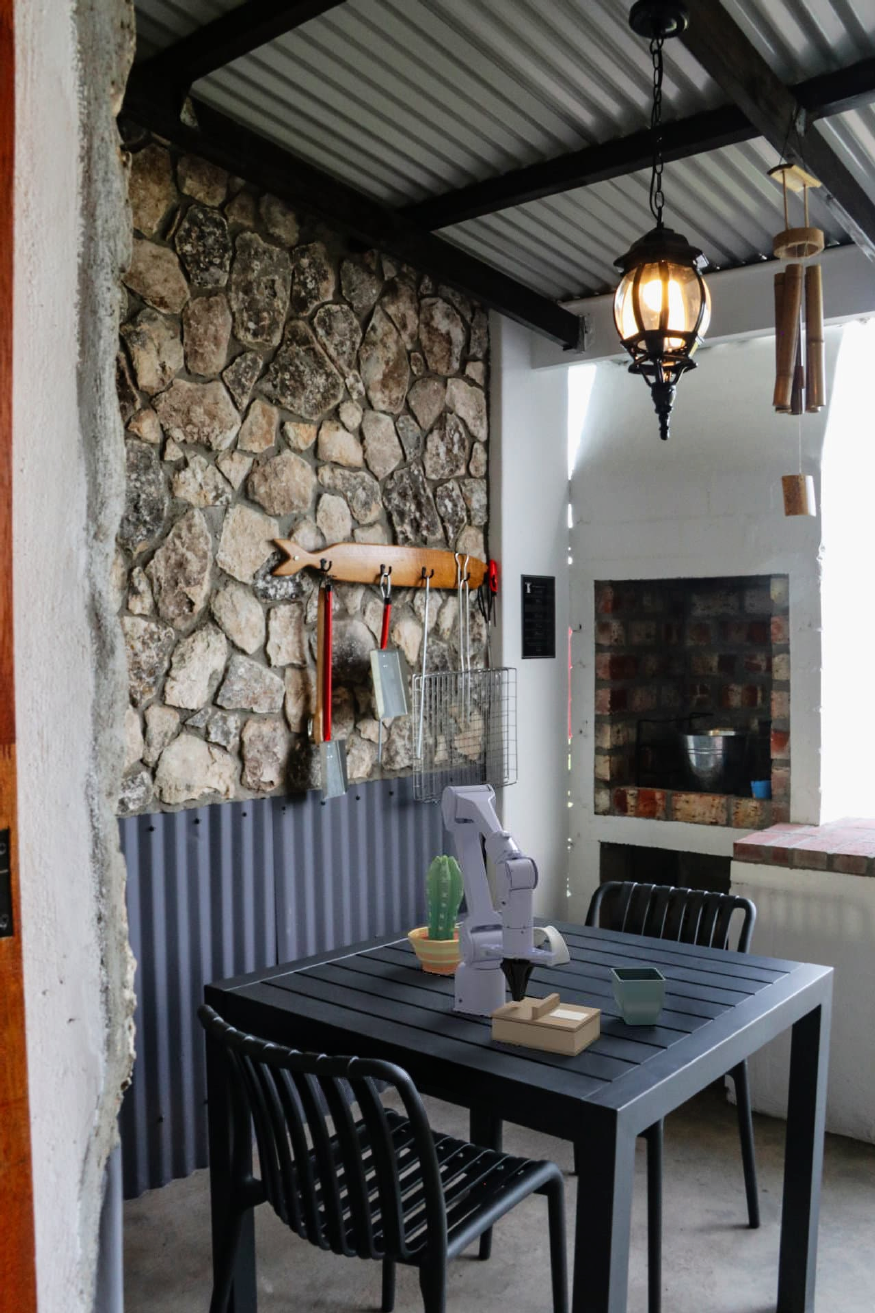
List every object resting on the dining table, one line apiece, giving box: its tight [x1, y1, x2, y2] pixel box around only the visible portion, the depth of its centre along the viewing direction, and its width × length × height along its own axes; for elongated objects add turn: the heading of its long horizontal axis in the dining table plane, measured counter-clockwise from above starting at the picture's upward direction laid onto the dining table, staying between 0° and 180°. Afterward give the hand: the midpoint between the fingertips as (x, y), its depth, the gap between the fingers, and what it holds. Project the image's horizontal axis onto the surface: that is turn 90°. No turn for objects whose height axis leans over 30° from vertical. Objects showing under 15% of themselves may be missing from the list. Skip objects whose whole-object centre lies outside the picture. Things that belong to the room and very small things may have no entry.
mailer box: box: [491, 1014, 601, 1057], centre depth 193 cm, size 16×11×4 cm
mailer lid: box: [489, 992, 602, 1032], centre depth 193 cm, size 16×12×3 cm
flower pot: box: [610, 967, 667, 1026], centre depth 202 cm, size 9×9×9 cm
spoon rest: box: [533, 925, 571, 965], centre depth 253 cm, size 24×12×7 cm, turn 25°
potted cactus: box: [407, 854, 465, 975], centre depth 239 cm, size 15×15×25 cm
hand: (518, 1000), depth 196 cm, fingers closed
